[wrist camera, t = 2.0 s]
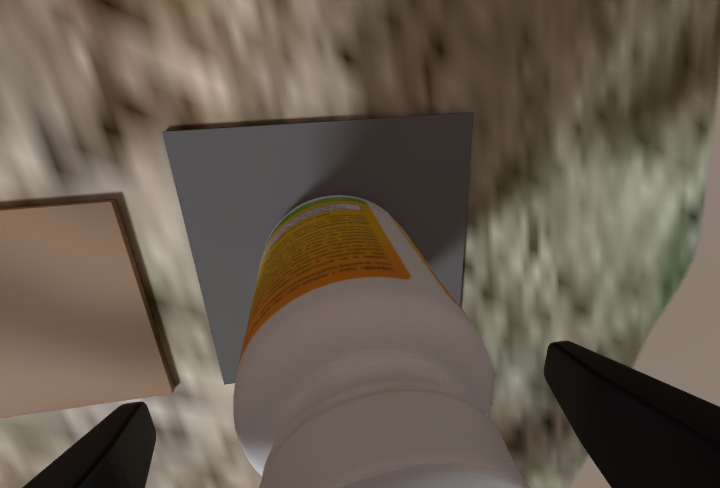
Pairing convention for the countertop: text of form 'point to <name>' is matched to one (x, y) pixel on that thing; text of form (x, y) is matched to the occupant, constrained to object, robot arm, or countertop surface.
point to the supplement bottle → (362, 363)
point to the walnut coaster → (73, 311)
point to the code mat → (313, 197)
